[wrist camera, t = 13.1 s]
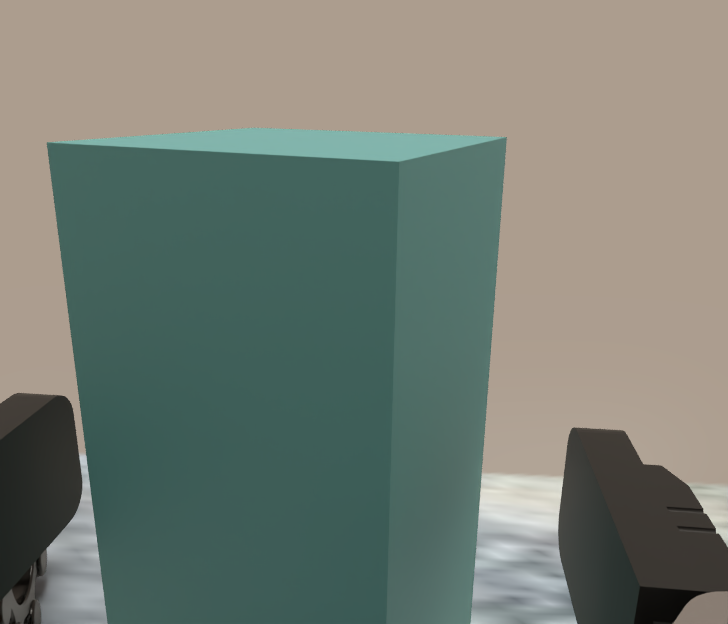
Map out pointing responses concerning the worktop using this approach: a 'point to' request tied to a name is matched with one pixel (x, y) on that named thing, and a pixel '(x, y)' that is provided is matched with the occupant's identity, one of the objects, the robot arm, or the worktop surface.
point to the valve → (24, 597)
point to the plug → (282, 369)
